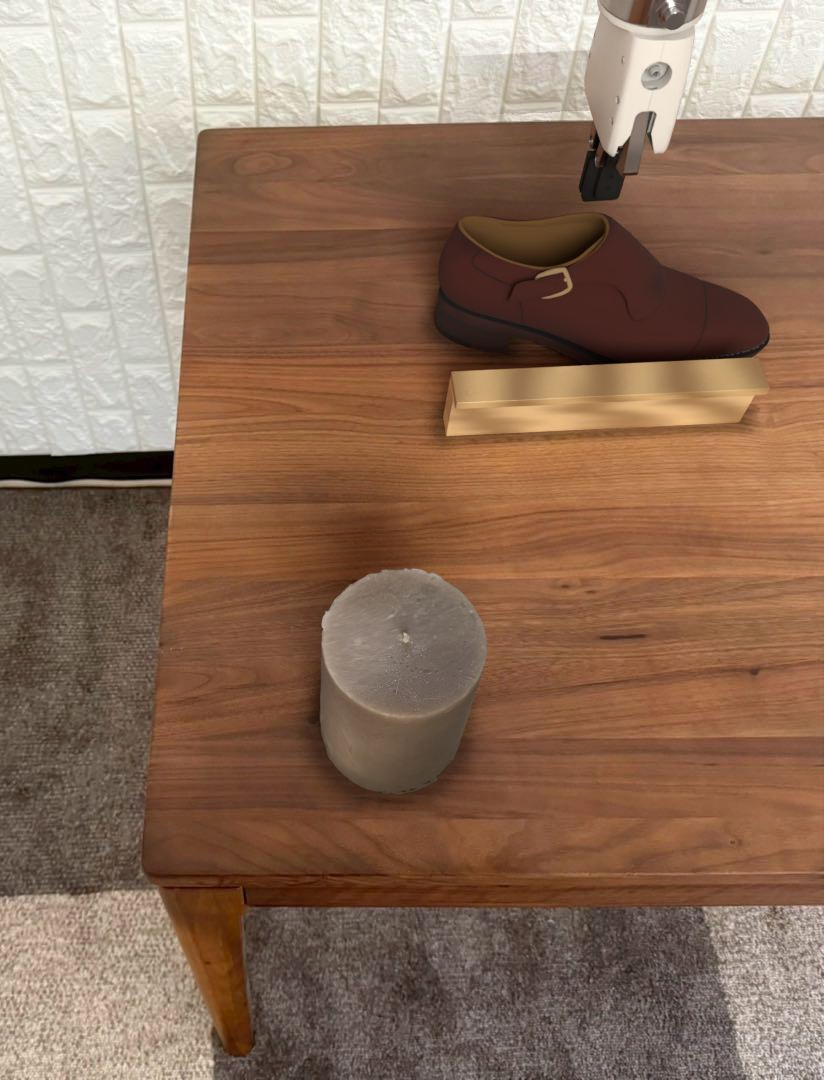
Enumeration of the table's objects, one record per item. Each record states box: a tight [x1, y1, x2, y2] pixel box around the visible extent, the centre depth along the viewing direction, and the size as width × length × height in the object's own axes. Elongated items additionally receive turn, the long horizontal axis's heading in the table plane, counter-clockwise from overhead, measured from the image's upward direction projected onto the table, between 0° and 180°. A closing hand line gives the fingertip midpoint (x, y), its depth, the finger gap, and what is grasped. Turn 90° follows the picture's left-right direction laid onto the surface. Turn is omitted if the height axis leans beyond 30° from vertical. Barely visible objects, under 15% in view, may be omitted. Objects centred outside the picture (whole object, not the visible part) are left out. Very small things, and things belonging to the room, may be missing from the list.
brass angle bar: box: [442, 356, 771, 437], centre depth 80 cm, size 24×3×6 cm, turn 92°
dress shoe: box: [434, 211, 771, 365], centre depth 83 cm, size 9×28×12 cm, turn 81°
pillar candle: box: [319, 567, 488, 795], centre depth 63 cm, size 10×10×15 cm
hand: (598, 194), depth 87 cm, fingers closed
